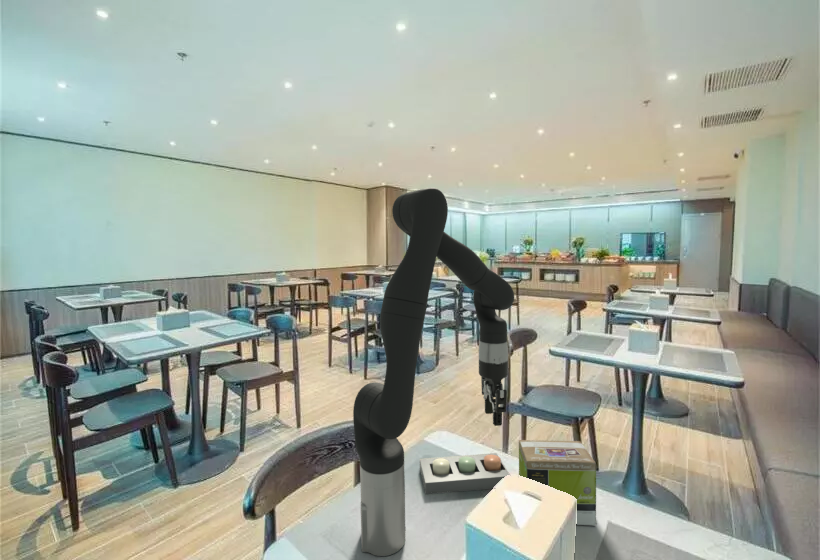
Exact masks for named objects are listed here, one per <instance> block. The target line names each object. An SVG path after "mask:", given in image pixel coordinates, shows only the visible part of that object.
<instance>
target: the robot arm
mask: <svg viewBox="0 0 820 560" xmlns="http://www.w3.org/2000/svg"><path fill="white" fill-rule="evenodd" d="M448 207H449V206H448V202H447V198H446V196H445V195H444V193H443V192H442V191H441V190H440V189H439V188H435V187H424V188H420V189H416V190H413V191H409V192H405V193H402V194H400V195H399V196H398V197H396V199H395V200H394V202H393V204H392V207H391V208H392V210H391V211H392V218H393V221H394V222H395V225H396V226H397V227H398V228H399V229H400V230H401V231H402V232H404V234H406V235H407V236H409V242H408V245H407V248H406V251H405V254H404V256H403V258H402V260H401V261H400V263H399V265H398V266H397V268H396V269H395V270H394V273H393V274H392V276H391V278H390V279H389V281H388V283H387V285H386V287H385V290H384V294H383V298H382V304H381V309H380V316H379V330H380V333H381V339H382V344H383V347H384V353H385V361H386V363H385V364H386V368H385V378H384V381H383V383H380V382H375V381H374V382H369V383H367V384H365V385H363V386H362V388H360V389H359V391H358V392H357V394H356V397H355V399H354V402H353V403H354V404H353V409H352V410H353V412H352V417H353V418H352V421H353V432H354V445H355V450H356V452H357V455H358V457H359V475H360V476H359V477H360V481H359V482H360V532H361V535H360V536H361V537H360V538H361V552H362V553H369V554H371V555H374V556H376V557H377V556H378V557H385V556H387V557H388V556H390V555H393V554H395V553H398V551H400V550H401V549H402V548H403V547H404V545H405V544H406V543H405V542H406V531H407V530H406V529H407V528H406V489H405V488H406V484H405V482H406V481H405V480H406V479H405V476H406V475H405V450H404V446H403V445H402V443H401V442H400V441H399V439H398V438H399V437H400V436H402V434H403V433H404V432H405V431H406V430H407V427H408V425H409V424H410V423H409V422H410V419H411V416H412V412H413V405H414V394H415V381H416V369H417V362H418V355H419V351H420V350H419V349H420V343H421V339H422V338H421V336H422V333H423V327H424V323H425V317H426V312H427V308H428V307H427V305H428V301H429V293H430V288H431V283H432V279H433V274H434V270H435V264H436V259H438V260H439V261H441V262H442V263H443V264H444V265H445V266H446V267H447V268H448V269H449V270H450V271H452V273H453V274H454V275H455V276H456V277H457V278H458V280H460V281H461V282H462V283H463V285H464V286H465V287H467V288H468V289H470V290H471V291H473V295H472V298H473V299H472V300H473V305H474V309H475V314H476V317H477V320H478V324H479V345H478V374H479V376H480V378H481V380H480V381H481V382H480V383H481V395H482V396H483V400H484V413H485V414H487V415H492V425H493V426H494V427H496V426H497V427H499V426H502V425H503V413H506V412H507V399H508V398H507V395H508V391H507V389H504V386H503V383H502V381H503V379H506V378H507V376H509V346H508V323H507V321H506V320H505V319H504V318H502V317H500V316H499V315H498V314H497V312H496V311H506V310H508V309H510V308H511V307H512V306H513V304H514V301H515V292H514V289H513V288H512V286H511V284H510V283H509V282H508V281H507V280H505V279H504V278H503V277H501V276H500V275H499V274H498V273H496V272H495V271H493V270H491V269H490V268H488V267H487V265H486V264H485V263H484V261H483V260H482V259H481V258H480V257H479V256H478V255H477V254H476V252H474V250H472V249H471V248H470V247H468V246H467V245H465V244H464V243H463V242H460V241H459V240H457V239H456V238H454V237H453V236H451V235H449V234H448V233H446V232H445V228H446V224H447V221H448V214H449V211H448V210H449V209H448Z"/></svg>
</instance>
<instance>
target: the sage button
mask: <svg viewBox="0 0 820 560" xmlns="http://www.w3.org/2000/svg"><path fill="white" fill-rule="evenodd" d="M471 472H475V460H474V459H473V458H471V457H467V456H465V457H461V458H460V459H459V473H471Z"/></svg>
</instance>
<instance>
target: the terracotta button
mask: <svg viewBox="0 0 820 560" xmlns="http://www.w3.org/2000/svg"><path fill="white" fill-rule="evenodd" d="M498 456H499V455H498ZM498 456H496V455H486V456H485V457H484V469H485V471H496V470H501V461H502V459H501V457H500V456H499V457H498Z"/></svg>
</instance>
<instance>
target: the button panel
mask: <svg viewBox="0 0 820 560" xmlns="http://www.w3.org/2000/svg"><path fill="white" fill-rule="evenodd" d="M486 455H496V456H498V457H500V456H499V454H498V453H497V452H493V453H492V452H491V453H480V454H479V453H478V454H467V455H466V454H465V455H464V454H463V455H452V456H438V457H426V458H419V471H420V472H419V473H420V475H421V480H422V485H423V489H424V493H425V495H433V494H446V493H456V492H469V491H482V490H493V489H492V488H493V487H494V486H495V485H496V484H497V483H498V482H499V481H500V480H501V479H502V478H504V477H505V476H507V475H510V476H511V474H510V473H509V471H508V469H507V468H506V466H505V464H504V463H503V461H502V460H501V470H496V471H486V470H485V469H484V457H485V456H486ZM465 456H467V457H471V458H473V459H474V460H475V472H471V473H460V472H459V459H460V458H461V457H465ZM439 458H443V459H446V460H448V461H449V472H450V473H449V474H446V475H434V474H433V461H434V460H435V459H439Z"/></svg>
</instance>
